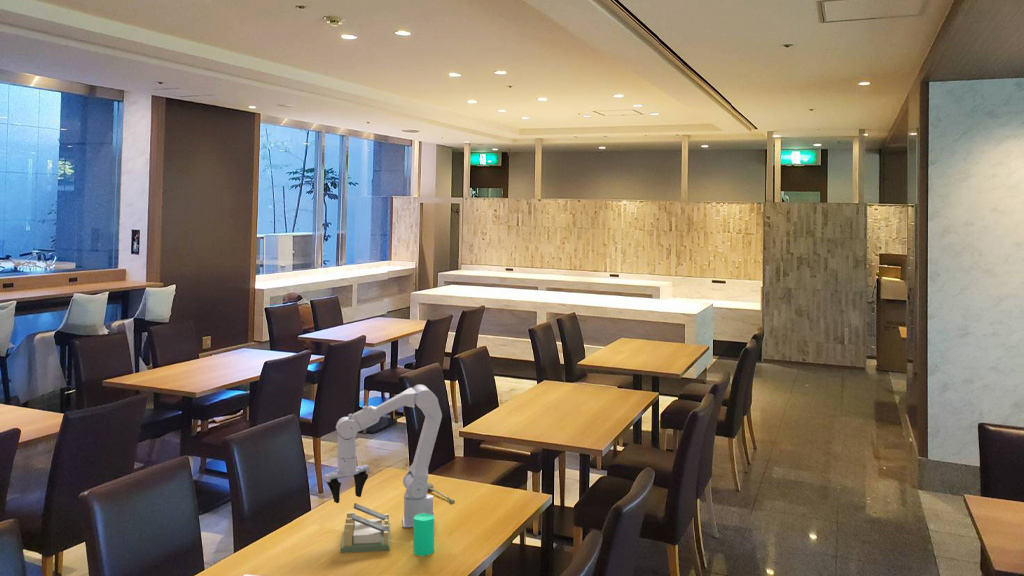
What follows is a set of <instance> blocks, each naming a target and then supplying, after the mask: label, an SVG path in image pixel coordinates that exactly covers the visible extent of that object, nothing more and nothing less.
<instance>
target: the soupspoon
mask: <svg viewBox="0 0 1024 576" xmlns="http://www.w3.org/2000/svg"><path fill="white" fill-rule="evenodd" d="M427 485H428V491H433V492H434V493H437V494H439V495H440V496H442V497H444V498H446V499H447V500H448V502H449V504H454V503H455V499H452V498H450V497H449V496H447V495H446V494H443V492H440V491H438V490H437V489H434V484H433V483H431V482H427Z"/></svg>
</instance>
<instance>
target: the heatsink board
mask: <svg viewBox="0 0 1024 576" xmlns="http://www.w3.org/2000/svg"><path fill="white" fill-rule="evenodd" d="M353 514H355V515H356V511H347V512H346V517H345V523H344V527H343V532H342V539H341V544H340V554H346V553H349V554H350V553H365V552H366V553H367V552H385V551H390V545H391V544H390V543H391V542H390V540H391V539H390V538H391V523H390V520H389V519H390V518H389V516H390V514H389V513H384V515H386V516H388V519H385V520H381V519H379V518H371V519H370V518H369V519H368V518H367V520H370V521H372V522H375V523H377V524H380V525H382V526H385V527H388V531H384V532H381V531H379V530H376V529H374V528H371V527H369V526H366V525H364V524H361V523H359V522H356V521H354V520H352V515H353ZM383 521H384V523H383Z"/></svg>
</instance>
